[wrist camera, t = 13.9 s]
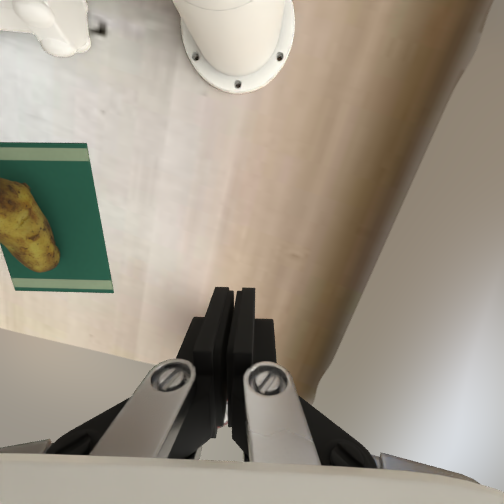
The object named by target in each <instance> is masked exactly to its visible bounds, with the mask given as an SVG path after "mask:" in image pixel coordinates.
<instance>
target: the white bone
mask: <svg viewBox="0 0 504 504" xmlns="http://www.w3.org/2000/svg"><path fill="white" fill-rule="evenodd" d="M87 12H88V4H87V2H86V0H0V30H1V31H12V32H22V33H32V34H34V35H35V36H36V38H37V39H38V40H39V41H40V43H41V46H42V48H43V50H44V51H45V52H47V53H48V54H50V55H52V56H56V57H70V56H73V55H74V54H75V53H76V52H77V53H83V52H86V51H87V50H89V48H90V45H91V40H90V37H89V31H88V21H87Z"/></svg>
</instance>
